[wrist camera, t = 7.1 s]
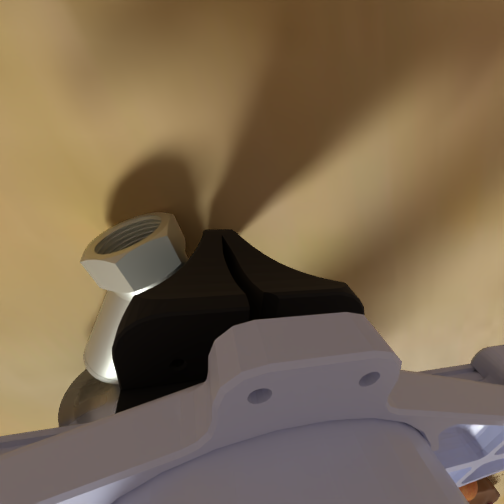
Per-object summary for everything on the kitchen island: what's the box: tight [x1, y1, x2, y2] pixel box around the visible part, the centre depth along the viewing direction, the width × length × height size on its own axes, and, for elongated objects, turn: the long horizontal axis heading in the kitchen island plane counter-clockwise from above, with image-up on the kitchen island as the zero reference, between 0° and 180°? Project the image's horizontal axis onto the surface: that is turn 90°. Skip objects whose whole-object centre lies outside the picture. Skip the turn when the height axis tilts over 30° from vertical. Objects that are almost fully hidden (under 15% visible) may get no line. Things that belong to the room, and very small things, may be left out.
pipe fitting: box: [80, 212, 189, 384], centre depth 13 cm, size 8×4×7 cm
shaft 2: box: [58, 369, 120, 427], centre depth 14 cm, size 4×6×5 cm
